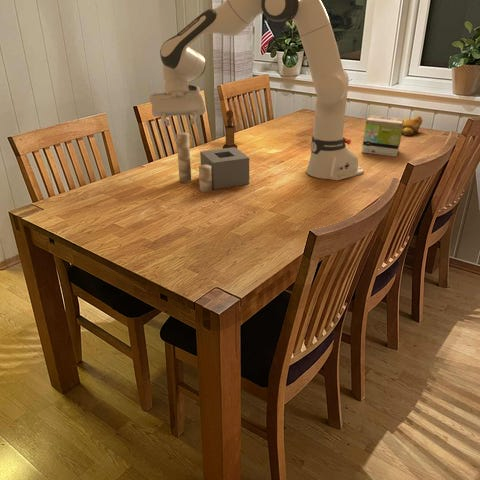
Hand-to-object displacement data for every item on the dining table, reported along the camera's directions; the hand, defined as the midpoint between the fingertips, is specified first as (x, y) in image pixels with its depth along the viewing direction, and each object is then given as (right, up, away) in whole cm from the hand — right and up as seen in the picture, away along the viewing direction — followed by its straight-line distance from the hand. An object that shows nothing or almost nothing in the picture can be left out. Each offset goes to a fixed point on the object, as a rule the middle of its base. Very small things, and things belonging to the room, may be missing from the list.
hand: (180, 124), depth 176 cm
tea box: (+85, -5, +31) cm, 90 cm away
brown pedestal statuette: (+18, -4, +32) cm, 37 cm away
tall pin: (+2, -21, 0) cm, 21 cm away
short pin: (+10, -26, -8) cm, 29 cm away
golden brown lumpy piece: (+106, +10, +58) cm, 122 cm away
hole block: (+17, -21, +1) cm, 27 cm away
